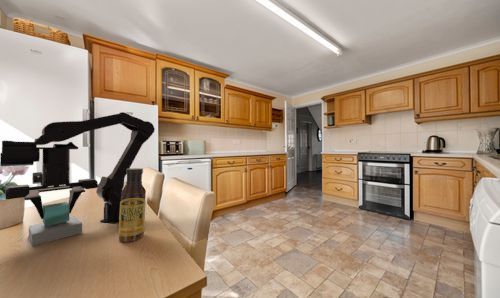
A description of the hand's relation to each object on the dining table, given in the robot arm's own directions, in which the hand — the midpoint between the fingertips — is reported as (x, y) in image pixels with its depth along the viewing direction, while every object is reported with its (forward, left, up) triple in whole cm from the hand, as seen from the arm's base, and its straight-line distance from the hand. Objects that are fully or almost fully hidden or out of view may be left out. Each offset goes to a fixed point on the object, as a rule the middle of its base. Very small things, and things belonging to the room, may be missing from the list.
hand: (56, 216), depth 56 cm
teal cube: (0, 0, -2) cm, 2 cm away
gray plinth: (0, 0, -6) cm, 6 cm away
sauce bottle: (-25, -1, -6) cm, 26 cm away
